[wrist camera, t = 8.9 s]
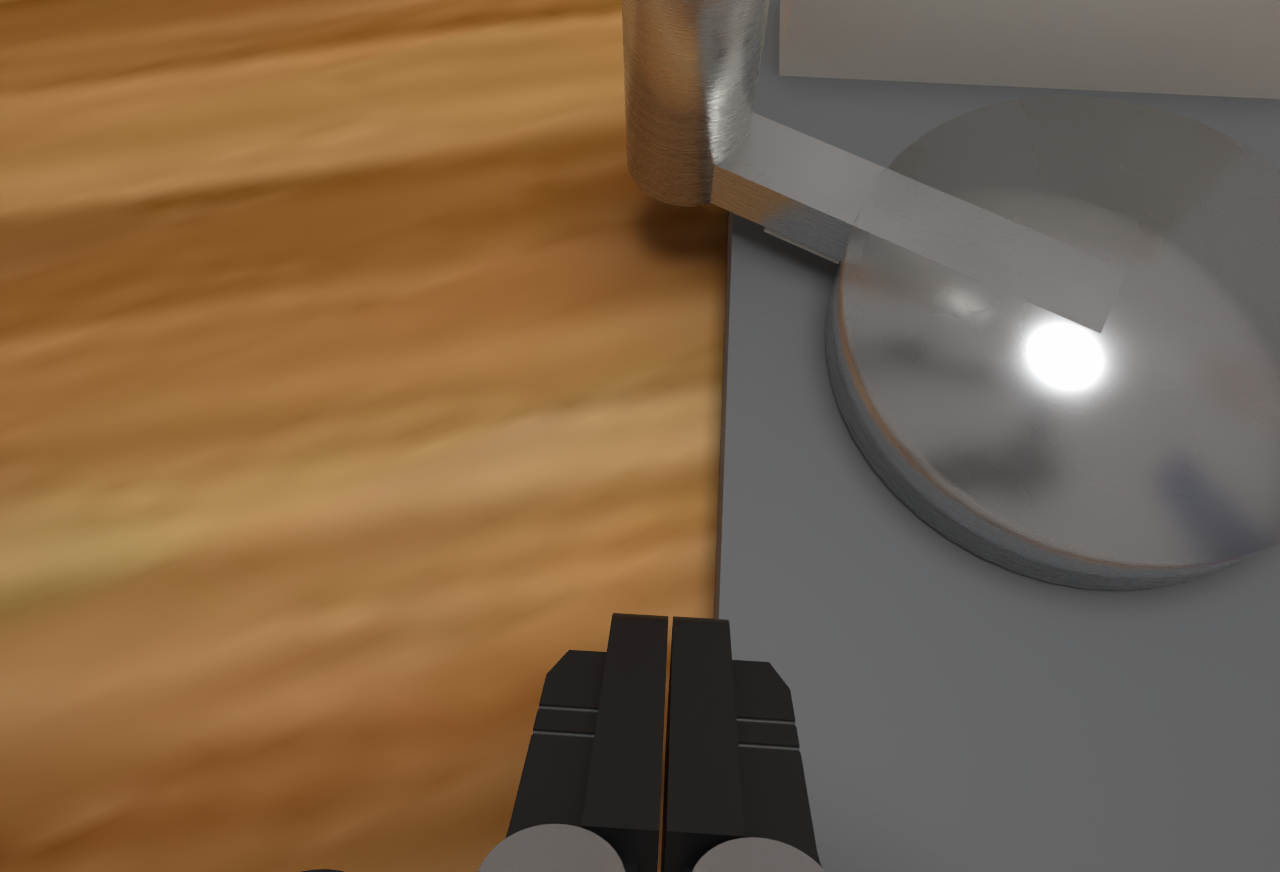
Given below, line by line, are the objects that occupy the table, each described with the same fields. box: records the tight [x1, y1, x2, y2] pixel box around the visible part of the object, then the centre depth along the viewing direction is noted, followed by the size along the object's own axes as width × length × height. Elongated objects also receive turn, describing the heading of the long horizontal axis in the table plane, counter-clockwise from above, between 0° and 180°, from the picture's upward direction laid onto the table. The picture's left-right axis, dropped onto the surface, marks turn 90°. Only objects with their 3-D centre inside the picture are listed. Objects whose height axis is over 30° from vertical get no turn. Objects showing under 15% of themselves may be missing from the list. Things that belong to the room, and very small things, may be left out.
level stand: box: [714, 0, 1280, 872], centre depth 17 cm, size 14×22×6 cm, turn 176°
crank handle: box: [622, 0, 1280, 591], centre depth 14 cm, size 16×10×11 cm, turn 61°
